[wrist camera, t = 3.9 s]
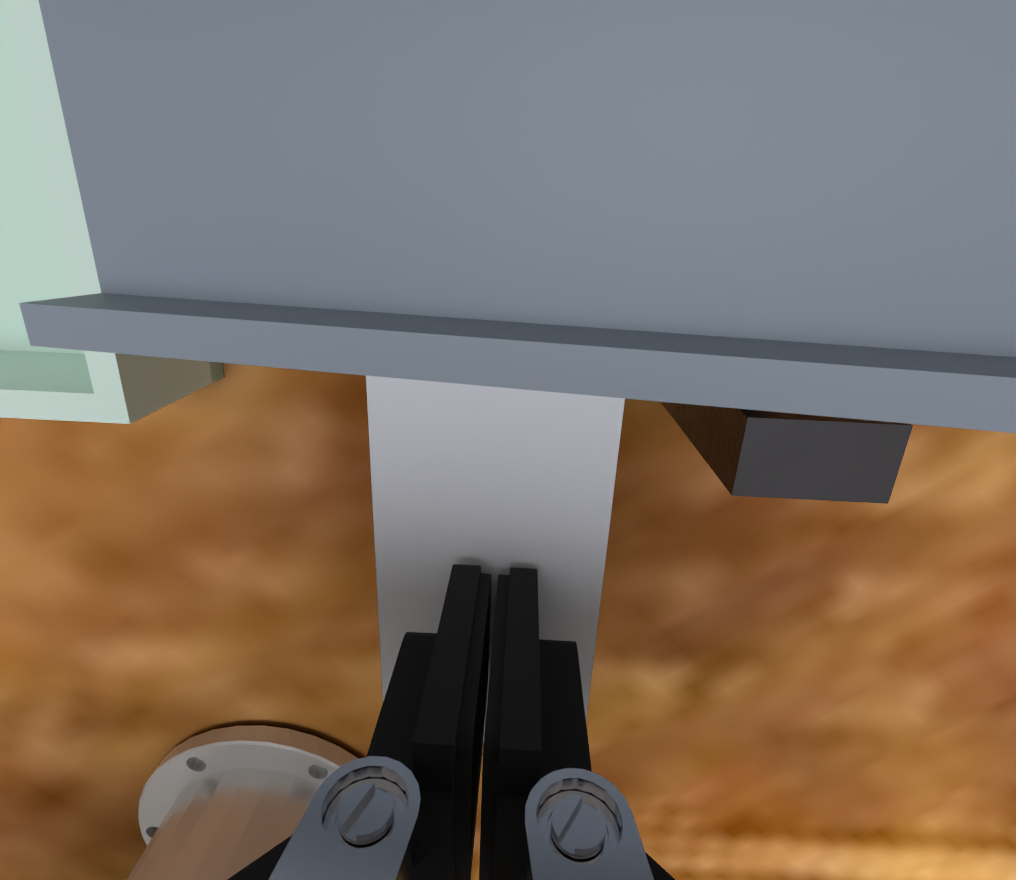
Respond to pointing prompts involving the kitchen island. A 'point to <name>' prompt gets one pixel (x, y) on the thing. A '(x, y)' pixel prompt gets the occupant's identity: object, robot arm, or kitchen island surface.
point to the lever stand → (796, 452)
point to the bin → (58, 255)
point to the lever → (548, 235)
